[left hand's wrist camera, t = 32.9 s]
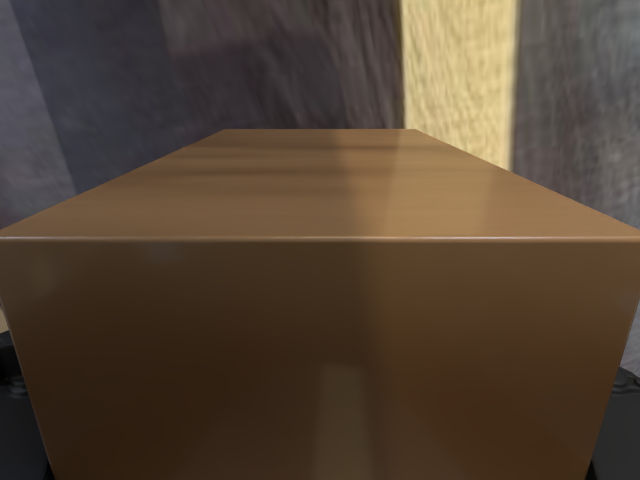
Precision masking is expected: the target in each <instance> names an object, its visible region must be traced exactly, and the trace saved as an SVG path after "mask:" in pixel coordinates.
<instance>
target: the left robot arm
mask: <svg viewBox="0 0 640 480" xmlns="http://www.w3.org/2000/svg"><path fill="white" fill-rule="evenodd" d="M0 480H54V477H53V474H52V470H51V467H50V464H49V461H48V457H47V454H46V451H45V447H44V444H43V441H42V437H41V434H40V431H39V428H38V424H37V421H36V418H35V414H34V411H33V408H32V404H31V401H30V398H29V395H28V391H27V388H26V385H25V381H24V378H23V375H22V371H21V368H20V365H19V361H18V358H17V355H16V352H15V348H14V345H13V342H12V338H11V335H10V332H9V330H8V331H5V332H3V333H0ZM585 480H640V378H639V377H637V376H636V375H634V374H633V373H632V372H630V371H628V370H626V369H623V368H621V367H619V369H618V372H617V376H616V379H615V382H614V385H613V389H612V392H611V395H610V399H609V402H608V405H607V409H606V412H605V415H604V419H603V422H602V425H601V429H600V432H599V435H598V438H597V442H596V445H595V448H594V452H593V455H592V458H591V462H590V465H589V468H588V472H587V475H586V478H585Z"/></svg>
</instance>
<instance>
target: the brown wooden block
mask: <svg viewBox="0 0 640 480" xmlns="http://www.w3.org/2000/svg"><path fill="white" fill-rule="evenodd" d="M639 299H640V230H638V229H636V228H634V227H631V226H629V225H627V224H625V223H622V222H620V221H618V220H616V219H614V218H611V217H609V216H607V215H605V214H602V213H600V212H598V211H596V210H594V209H591V208H589V207H587V206H585V205H582V204H580V203H578V202H576V201H574V200H571V199H569V198H567V197H565V196H563V195H560V194H558V193H556V192H554V191H551V190H549V189H547V188H545V187H543V186H540V185H538V184H536V183H534V182H531V181H529V180H527V179H525V178H523V177H520V176H518V175H516V174H514V173H511V172H509V171H507V170H505V169H503V168H500V167H498V166H496V165H494V164H491V163H489V162H487V161H485V160H483V159H480V158H478V157H476V156H474V155H472V154H469V153H467V152H465V151H463V150H460V149H458V148H456V147H454V146H452V145H449V144H447V143H445V142H443V141H440V140H438V139H436V138H434V137H432V136H429V135H427V134H425V133H423V132H420V131H418V130H416V129H224V130H222V131H219V132H217V133H215V134H213V135H210V136H208V137H206V138H204V139H202V140H199V141H197V142H195V143H193V144H190V145H188V146H186V147H184V148H182V149H179V150H177V151H175V152H173V153H170V154H168V155H166V156H164V157H161V158H159V159H157V160H155V161H153V162H150V163H148V164H146V165H144V166H141V167H139V168H137V169H135V170H133V171H130V172H128V173H126V174H124V175H121V176H119V177H117V178H115V179H112V180H110V181H108V182H106V183H104V184H101V185H99V186H97V187H95V188H92V189H90V190H88V191H86V192H84V193H81V194H79V195H77V196H75V197H72V198H70V199H68V200H66V201H63V202H61V203H59V204H57V205H55V206H52V207H50V208H48V209H46V210H43V211H41V212H39V213H37V214H34V215H32V216H30V217H28V218H26V219H23V220H21V221H19V222H17V223H14V224H12V225H10V226H8V227H6V228H3V229H1V230H0V302H1V305H2V309H3V312H4V315H5V319H6V322H7V325H8V328H9V332H10V335H11V338H12V342H13V345H14V348H15V352H16V355H17V358H18V361H19V365H20V368H21V371H22V375H23V378H24V381H25V385H26V388H27V391H28V395H29V398H30V401H31V404H32V408H33V411H34V414H35V418H36V421H37V424H38V428H39V431H40V434H41V437H42V441H43V444H44V447H45V451H46V454H47V457H48V461H49V464H50V467H51V470H52V474H53V477H54V480H585V478H586V475H587V472H588V468H589V465H590V462H591V458H592V455H593V452H594V448H595V445H596V442H597V438H598V435H599V432H600V429H601V425H602V422H603V419H604V415H605V412H606V409H607V405H608V402H609V399H610V395H611V392H612V389H613V385H614V382H615V379H616V376H617V372H618V369H619V366H620V362H621V359H622V356H623V352H624V349H625V346H626V342H627V339H628V336H629V333H630V329H631V326H632V323H633V319H634V316H635V313H636V309H637V306H638V303H639Z"/></svg>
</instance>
